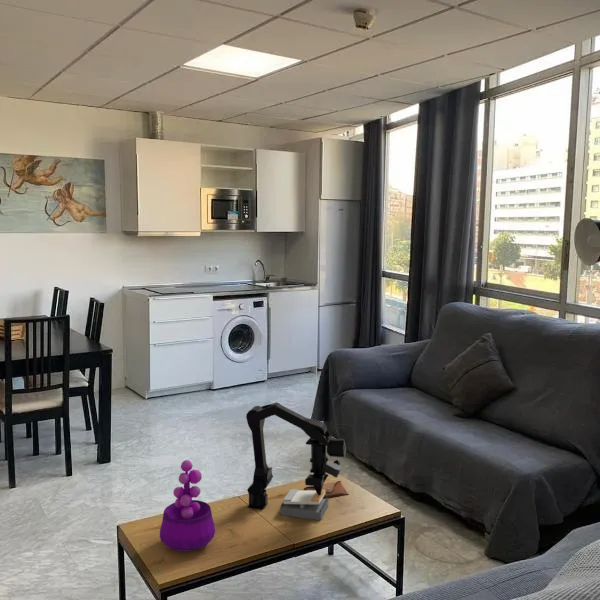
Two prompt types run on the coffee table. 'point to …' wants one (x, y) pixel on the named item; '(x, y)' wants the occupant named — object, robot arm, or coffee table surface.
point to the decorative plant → (187, 515)
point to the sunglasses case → (331, 489)
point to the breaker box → (305, 510)
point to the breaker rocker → (303, 497)
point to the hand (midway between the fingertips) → (319, 494)
